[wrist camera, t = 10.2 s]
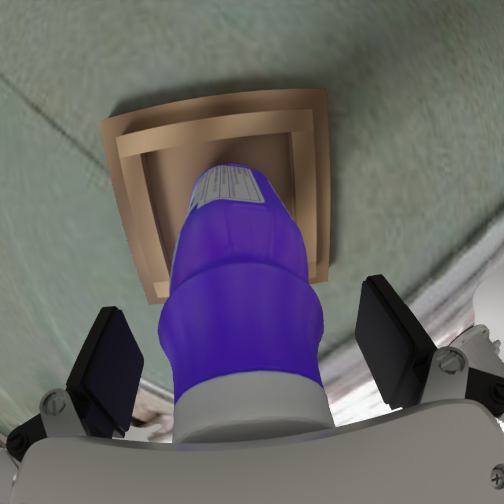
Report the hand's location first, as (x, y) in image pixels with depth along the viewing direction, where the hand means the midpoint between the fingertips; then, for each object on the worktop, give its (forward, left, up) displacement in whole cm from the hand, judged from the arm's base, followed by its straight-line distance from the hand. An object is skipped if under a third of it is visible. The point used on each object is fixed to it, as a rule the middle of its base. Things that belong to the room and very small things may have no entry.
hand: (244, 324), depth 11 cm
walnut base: (+1, 0, -14) cm, 14 cm away
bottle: (0, 0, -12) cm, 12 cm away
